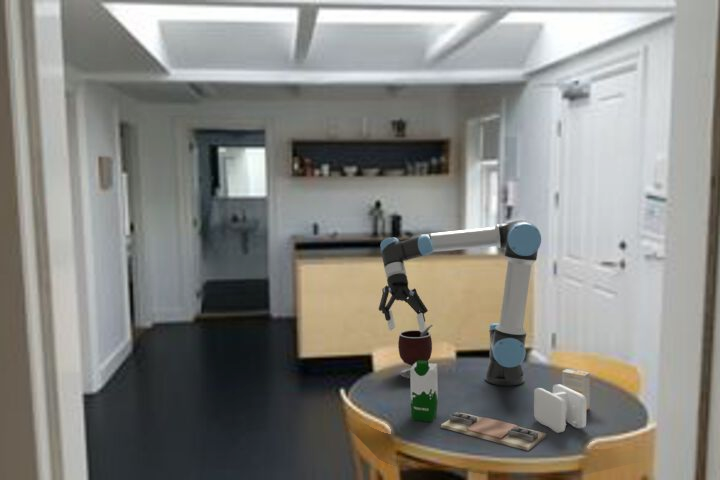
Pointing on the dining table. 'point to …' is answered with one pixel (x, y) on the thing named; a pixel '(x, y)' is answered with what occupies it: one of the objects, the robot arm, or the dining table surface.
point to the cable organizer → (559, 408)
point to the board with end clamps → (493, 430)
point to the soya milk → (424, 391)
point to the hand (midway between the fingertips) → (407, 329)
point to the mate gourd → (414, 347)
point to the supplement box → (577, 382)
